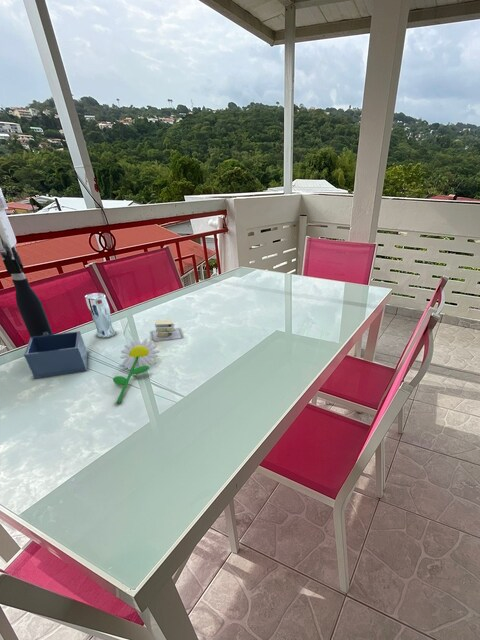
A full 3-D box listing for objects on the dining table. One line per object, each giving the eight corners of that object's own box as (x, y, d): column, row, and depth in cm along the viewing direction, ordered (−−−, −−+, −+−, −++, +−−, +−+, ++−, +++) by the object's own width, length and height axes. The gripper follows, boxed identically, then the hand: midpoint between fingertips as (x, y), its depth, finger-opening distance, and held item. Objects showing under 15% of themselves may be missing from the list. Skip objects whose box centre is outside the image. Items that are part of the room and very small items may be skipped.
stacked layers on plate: (154, 341, 125) (151, 327, 122) (152, 332, 131) (149, 318, 128) (181, 337, 128) (179, 324, 125) (178, 329, 135) (176, 316, 132)
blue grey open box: (34, 378, 100) (23, 355, 95) (40, 359, 109) (30, 336, 105) (86, 370, 105) (78, 347, 100) (87, 352, 115) (79, 331, 110)
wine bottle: (40, 340, 117) (3, 249, 100) (60, 341, 118) (26, 250, 101) (30, 348, 112) (-11, 254, 95) (51, 348, 113) (14, 255, 96)
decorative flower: (144, 408, 94) (164, 349, 116) (139, 396, 90) (160, 337, 112) (98, 411, 93) (127, 351, 115) (91, 399, 89) (122, 339, 111)
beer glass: (106, 339, 124) (94, 300, 115) (92, 336, 126) (79, 296, 117) (120, 332, 129) (110, 294, 121) (106, 329, 131) (95, 291, 123)
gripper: (-21, 199, 96) (6, 266, 106) (-38, 204, 83) (-6, 279, 94) (11, 200, 99) (35, 265, 109) (-1, 205, 86) (27, 277, 97)
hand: (16, 271), depth 101 cm, fingers closed on wine bottle, 3 cm apart
